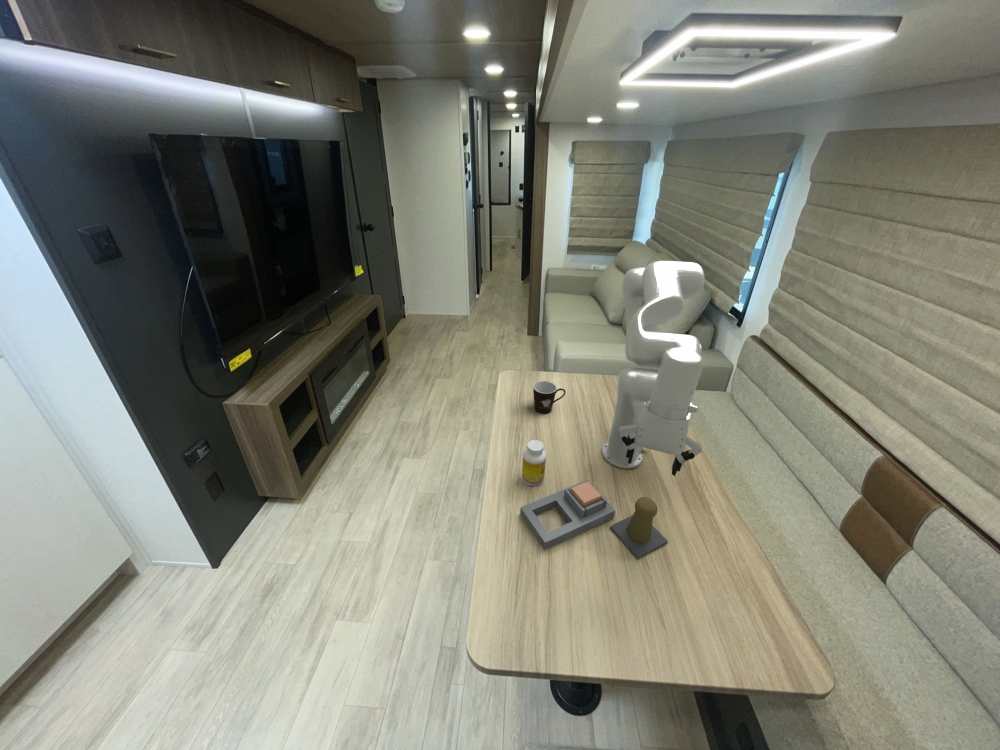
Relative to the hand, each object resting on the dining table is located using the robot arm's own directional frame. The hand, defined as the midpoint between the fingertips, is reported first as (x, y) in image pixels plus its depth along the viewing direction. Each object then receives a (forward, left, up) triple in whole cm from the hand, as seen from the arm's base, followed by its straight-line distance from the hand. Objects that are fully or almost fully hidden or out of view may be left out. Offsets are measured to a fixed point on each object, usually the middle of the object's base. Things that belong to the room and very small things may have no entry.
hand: (651, 465), depth 91 cm
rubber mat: (0, +2, -23) cm, 23 cm away
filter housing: (+13, -11, -23) cm, 28 cm away
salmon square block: (+8, -11, -19) cm, 23 cm away
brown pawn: (0, +2, -22) cm, 22 cm away
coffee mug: (-9, -55, -23) cm, 60 cm away
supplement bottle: (+14, -27, -23) cm, 38 cm away
